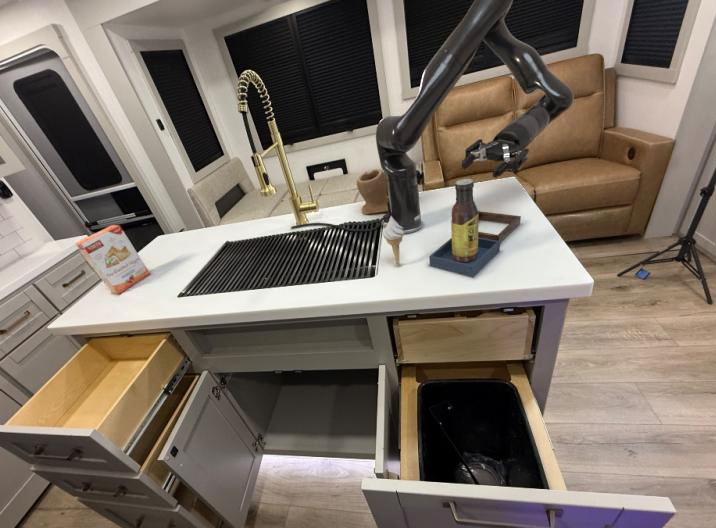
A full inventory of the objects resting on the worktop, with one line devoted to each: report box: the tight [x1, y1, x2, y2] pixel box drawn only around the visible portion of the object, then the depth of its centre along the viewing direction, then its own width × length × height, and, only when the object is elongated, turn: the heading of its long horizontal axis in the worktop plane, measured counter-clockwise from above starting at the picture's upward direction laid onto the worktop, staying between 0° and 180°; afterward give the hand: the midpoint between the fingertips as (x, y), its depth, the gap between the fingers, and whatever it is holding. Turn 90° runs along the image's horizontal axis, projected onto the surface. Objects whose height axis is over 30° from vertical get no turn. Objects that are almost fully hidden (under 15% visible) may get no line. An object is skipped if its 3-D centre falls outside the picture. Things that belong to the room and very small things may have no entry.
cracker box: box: [75, 224, 151, 295], centre depth 123 cm, size 14×6×21 cm, turn 148°
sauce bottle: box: [450, 178, 479, 262], centre depth 83 cm, size 7×6×20 cm
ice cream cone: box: [382, 216, 405, 267], centre depth 90 cm, size 6×6×15 cm
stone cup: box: [356, 168, 389, 215], centre depth 123 cm, size 15×12×15 cm
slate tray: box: [428, 237, 501, 278], centre depth 88 cm, size 12×13×3 cm
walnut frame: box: [478, 210, 522, 244], centre depth 97 cm, size 13×13×2 cm
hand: (478, 170), depth 84 cm, fingers open, 8 cm apart
